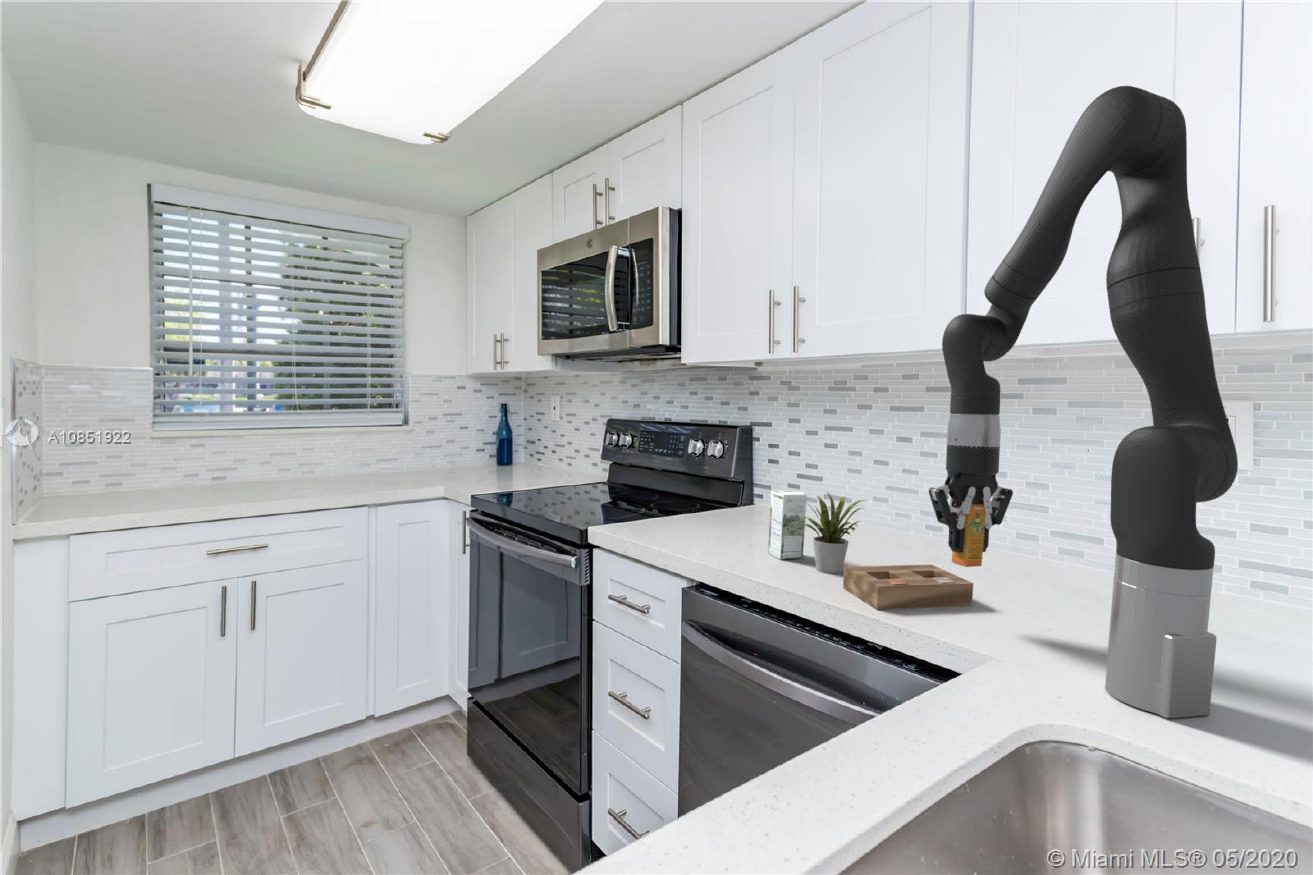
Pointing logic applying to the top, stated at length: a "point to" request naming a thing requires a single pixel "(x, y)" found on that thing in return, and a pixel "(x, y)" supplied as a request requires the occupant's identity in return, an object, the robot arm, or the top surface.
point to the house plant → (831, 536)
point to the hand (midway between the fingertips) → (968, 550)
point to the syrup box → (787, 524)
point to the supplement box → (972, 538)
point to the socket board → (907, 586)
